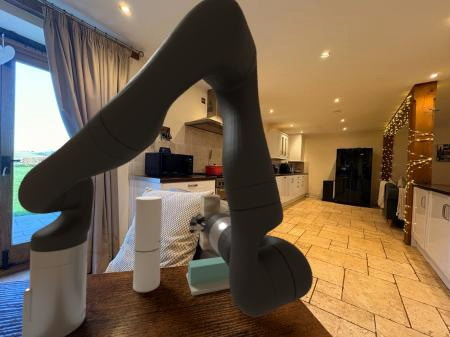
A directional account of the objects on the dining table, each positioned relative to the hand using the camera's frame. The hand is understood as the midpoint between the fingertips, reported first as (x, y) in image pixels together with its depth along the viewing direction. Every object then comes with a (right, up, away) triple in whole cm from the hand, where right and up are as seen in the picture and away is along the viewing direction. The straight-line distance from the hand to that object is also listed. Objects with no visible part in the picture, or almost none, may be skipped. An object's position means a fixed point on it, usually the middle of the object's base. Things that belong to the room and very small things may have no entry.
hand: (207, 216), depth 57 cm
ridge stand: (+2, -20, +2) cm, 20 cm away
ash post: (+1, -7, -3) cm, 8 cm away
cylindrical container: (-17, -20, -1) cm, 26 cm away
